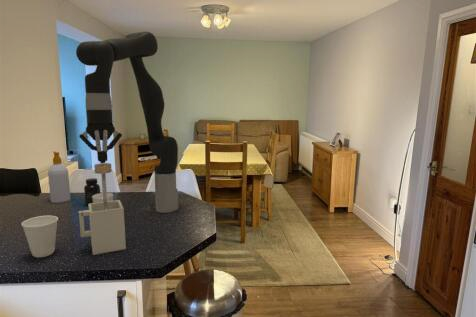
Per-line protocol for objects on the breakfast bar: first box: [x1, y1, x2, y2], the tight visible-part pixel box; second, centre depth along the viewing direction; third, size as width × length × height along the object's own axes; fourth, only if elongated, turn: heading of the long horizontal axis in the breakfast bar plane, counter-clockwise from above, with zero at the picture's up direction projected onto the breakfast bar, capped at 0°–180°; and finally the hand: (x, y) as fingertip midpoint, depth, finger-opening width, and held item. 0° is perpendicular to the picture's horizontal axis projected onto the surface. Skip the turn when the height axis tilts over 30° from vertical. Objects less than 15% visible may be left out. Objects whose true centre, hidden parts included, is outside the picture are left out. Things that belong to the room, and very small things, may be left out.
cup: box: [21, 214, 59, 258], centre depth 103 cm, size 10×10×11 cm
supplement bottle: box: [83, 177, 101, 207], centre depth 152 cm, size 7×7×12 cm
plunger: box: [94, 162, 112, 210], centre depth 106 cm, size 8×8×19 cm
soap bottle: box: [47, 150, 71, 204], centre depth 157 cm, size 9×9×24 cm
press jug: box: [78, 199, 127, 256], centre depth 108 cm, size 13×10×14 cm
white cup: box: [92, 192, 114, 203], centre depth 134 cm, size 8×8×10 cm
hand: (102, 162), depth 105 cm, fingers closed
